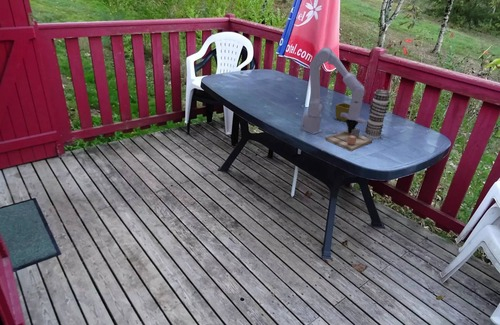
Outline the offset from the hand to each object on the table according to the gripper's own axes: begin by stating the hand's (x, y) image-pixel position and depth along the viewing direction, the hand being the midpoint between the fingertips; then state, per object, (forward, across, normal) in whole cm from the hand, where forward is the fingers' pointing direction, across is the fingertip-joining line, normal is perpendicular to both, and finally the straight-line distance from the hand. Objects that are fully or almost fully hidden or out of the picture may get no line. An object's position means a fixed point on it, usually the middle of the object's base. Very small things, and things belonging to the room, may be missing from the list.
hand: (350, 132), depth 191 cm
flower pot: (+3, -18, +20) cm, 27 cm away
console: (+2, +3, -5) cm, 6 cm away
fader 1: (0, +3, 0) cm, 3 cm away
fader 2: (0, +8, -10) cm, 13 cm away
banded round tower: (+3, +6, +14) cm, 15 cm away
